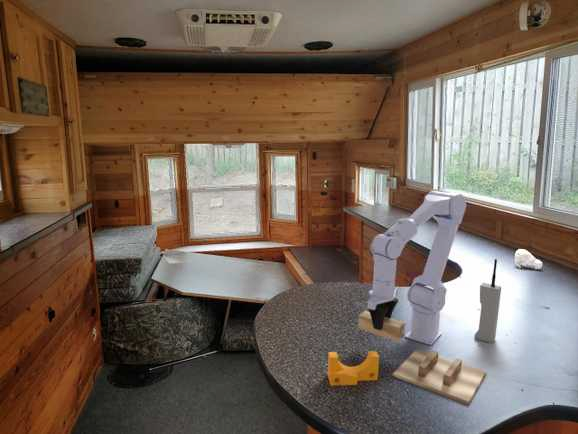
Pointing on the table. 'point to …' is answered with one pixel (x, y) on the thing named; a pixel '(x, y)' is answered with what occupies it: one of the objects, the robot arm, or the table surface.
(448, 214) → the robot arm
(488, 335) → the vintage mobile phone
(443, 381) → the rail stand
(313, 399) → the table surface
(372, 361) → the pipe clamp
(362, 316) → the oak beam
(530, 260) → the white rough lump
